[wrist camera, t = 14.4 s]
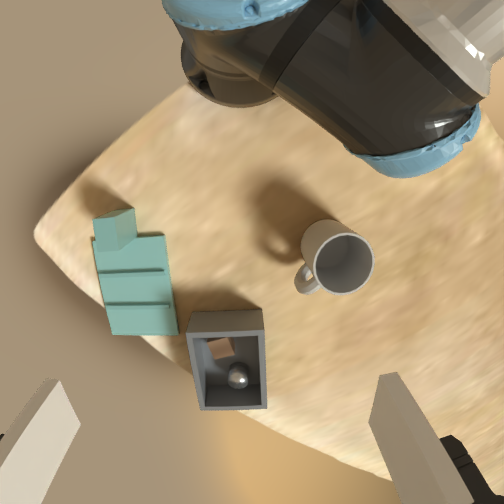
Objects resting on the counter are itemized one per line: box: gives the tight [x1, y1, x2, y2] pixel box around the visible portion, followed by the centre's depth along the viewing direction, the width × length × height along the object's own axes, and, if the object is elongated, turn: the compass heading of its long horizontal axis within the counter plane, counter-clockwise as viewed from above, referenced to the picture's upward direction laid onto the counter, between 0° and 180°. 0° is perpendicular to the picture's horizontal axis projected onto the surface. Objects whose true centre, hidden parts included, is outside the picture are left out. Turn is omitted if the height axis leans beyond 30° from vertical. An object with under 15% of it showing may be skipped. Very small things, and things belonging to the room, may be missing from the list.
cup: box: [294, 219, 375, 295], centre depth 38 cm, size 7×10×9 cm
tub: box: [186, 309, 267, 410], centre depth 43 cm, size 14×10×6 cm
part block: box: [207, 337, 235, 359], centre depth 43 cm, size 3×3×3 cm
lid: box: [92, 208, 179, 335], centre depth 39 cm, size 19×11×7 cm, turn 3°
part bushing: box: [228, 362, 248, 389], centre depth 45 cm, size 3×3×3 cm
